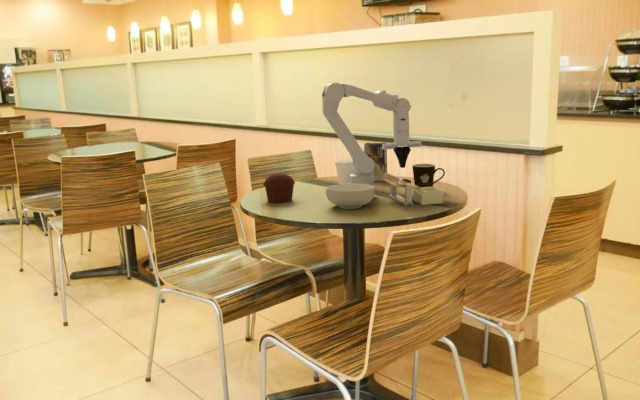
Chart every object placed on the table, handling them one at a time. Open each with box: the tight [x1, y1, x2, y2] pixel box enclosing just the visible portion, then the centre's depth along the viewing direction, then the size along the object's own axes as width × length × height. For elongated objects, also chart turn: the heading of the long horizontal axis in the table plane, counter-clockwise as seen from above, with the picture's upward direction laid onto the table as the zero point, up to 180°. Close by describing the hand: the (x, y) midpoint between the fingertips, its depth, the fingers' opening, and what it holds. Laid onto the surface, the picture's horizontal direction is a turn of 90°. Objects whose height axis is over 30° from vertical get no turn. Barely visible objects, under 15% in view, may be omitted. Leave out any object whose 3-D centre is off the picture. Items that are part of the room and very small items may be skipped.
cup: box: [334, 158, 356, 184], centre depth 238 cm, size 10×10×11 cm
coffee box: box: [363, 142, 388, 182], centre depth 252 cm, size 9×6×16 cm
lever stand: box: [388, 183, 414, 207], centre depth 207 cm, size 3×17×7 cm, turn 12°
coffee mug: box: [411, 163, 446, 187], centre depth 224 cm, size 12×9×10 cm
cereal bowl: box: [325, 183, 376, 210], centre depth 202 cm, size 17×17×7 cm
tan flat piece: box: [383, 172, 420, 190], centre depth 207 cm, size 9×14×3 cm, turn 12°
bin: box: [413, 186, 444, 206], centre depth 205 cm, size 8×8×4 cm
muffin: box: [263, 172, 296, 204], centre depth 216 cm, size 12×11×10 cm
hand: (402, 167), depth 217 cm, fingers closed
